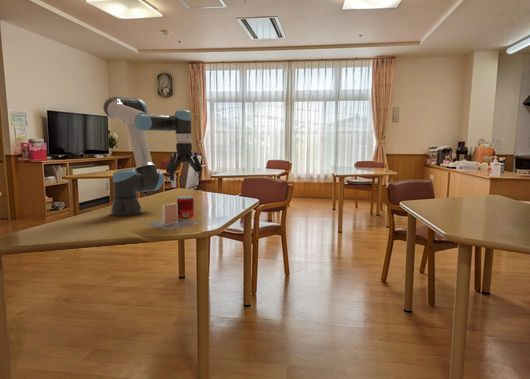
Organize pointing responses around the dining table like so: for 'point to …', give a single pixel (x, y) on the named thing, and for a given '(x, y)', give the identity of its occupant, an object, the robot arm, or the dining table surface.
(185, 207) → the canned food
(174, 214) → the tile
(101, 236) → the dining table surface
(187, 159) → the robot arm
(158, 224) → the slate board
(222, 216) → the dining table surface
